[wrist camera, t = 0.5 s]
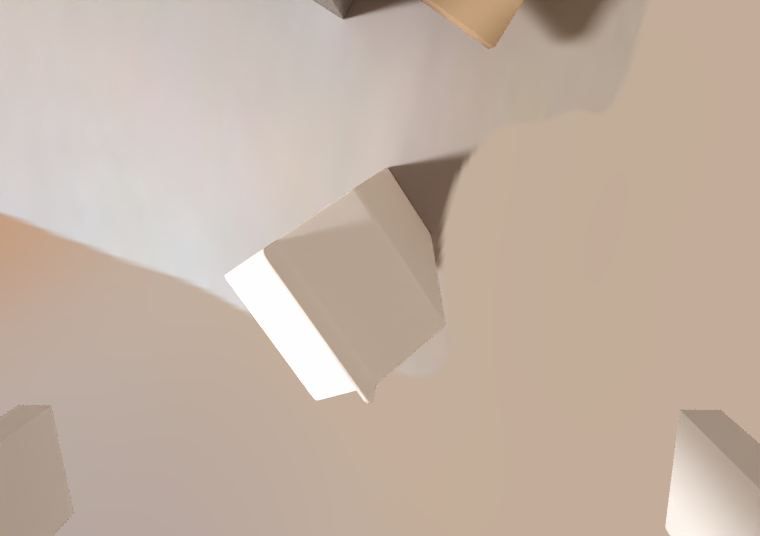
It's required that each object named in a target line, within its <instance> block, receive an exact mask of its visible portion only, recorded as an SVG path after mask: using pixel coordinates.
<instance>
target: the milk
mask: <svg viewBox="0 0 760 536" xmlns="http://www.w3.org/2000/svg"><path fill="white" fill-rule="evenodd" d="M225 278H226V280H227V281H228V282H229V284H230V285H231V286H232V288H233V289H234V291H235V292H236V293H237V295H238V296H239V297H240V299H241V300H242V301H243V303H244V304H245V306H246V307H247V308H248V310H249V311H250V312H251V314H252V315H253V316H254V318H255V319H256V320H257V322H258V323H259V324H260V326H261V327H262V329H263V330H264V331H265V333H266V334H267V335H268V337H269V338H270V340H271V341H272V342H273V343H274V345H275V346H276V348H277V349H278V350H279V352H280V353H281V354H282V356H283V357H284V359H285V360H286V361H287V363H288V364H289V365H290V367H291V368H292V369H293V371H294V372H295V373H296V375H297V376H298V378H299V379H300V380H301V382H302V383H303V384H304V386H305V387H306V388H307V390H308V391H309V393H310V394H311V395H312V396H313V398H314V399H315V400H321V399H324V398H329V397H333V396H336V395H340V394H344V393H348V392H352V391H356V390H357V392H358V393H359V395H360V396H361V397H362V399H363V400H364V401H365V402H366V403H368V404H370V403H372V402H373V399H374V393H375V388H376V385H377V384H378V383H379V382H380V381H381V380H382V379H383V378H384V377H386V376H387V375H388V374H389V373H390V372H392V371H393V370H394V369H395V368H396V367H397V366H399V365H400V364H401V363H402V362H403V361H404V360H406V359H407V358H408V357H409V356H410V355H411V354H413V353H414V352H415V351H416V350H417V349H418V348H420V347H421V346H422V345H423V344H424V343H425V342H427V341H428V340H429V339H430V338H431V337H433V336H434V335H435V334H436V333H437V332H438V331H439V330H441V329H442V328H443V327H444V325H445V319H444V313H443V306H442V300H441V294H440V288H439V281H438V275H437V269H436V263H435V256H434V250H433V244H432V238H431V234H430V233H429V231H428V230H427V228H426V227H425V225H424V223H423V222H422V220H421V219H420V217H419V216H418V214H417V213H416V211H415V209H414V208H413V206H412V205H411V203H410V202H409V200H408V199H407V197H406V195H405V194H404V192H403V191H402V189H401V188H400V186H399V184H398V183H397V181H396V180H395V178H394V177H393V175H392V174H391V172H390V170H389V169H388V168H385V169H383V170H382V171H380V172H379V173H377V174H376V175H374V176H372V177H371V178H369V179H368V180H366V181H365V182H363V183H362V184H360V185H358V186H357V187H355V188H354V189H352V190H351V191H349V192H348V193H346V194H345V195H343V196H342V197H340V198H339V199H337V200H336V201H334V202H333V203H331V204H330V205H328V206H327V207H325V208H324V209H322V210H321V211H319V212H318V213H316V214H315V215H313V216H312V217H310V218H309V219H307V220H306V221H304V222H303V223H301V224H300V225H298V226H297V227H295V228H294V229H292V230H291V231H289V232H288V233H286V234H285V235H283V236H282V237H280V238H279V239H277V240H276V241H274V242H273V243H271V244H270V245H268V246H267V247H265V248H264V249H263V250H261V251H260V252H258V253H257V254H255V255H254V256H252V257H251V258H249V259H248V260H246V261H245V262H243V263H242V264H240V265H239V266H237V267H236V268H234V269H233V270H231V271H230V272H229V273H227V274H226V275H225Z"/></svg>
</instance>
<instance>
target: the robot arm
mask: <svg viewBox="0 0 760 536" xmlns="http://www.w3.org/2000/svg"><path fill="white" fill-rule="evenodd" d="M73 514H74V510H73V506H72V501H71V496H70V491H69V487H68V482H67V478H66V473H65V468H64V463H63V458H62V454H61V449H60V444H59V440H58V435H57V430H56V426H55V421H54V416H53V411H52V407H51V406H49V405H48V406H47V405H41V406H40V405H18V406H16V407H15V408H13V409H12V410H10V411H9V412H7V413H6V414H4V415H3V416H1V417H0V536H53V535H54V534H55V533H56V532H57V531H58V530H59V529H60V528H61V527H62V526H63V525H64V523H66V521H67V520H68V519H69V518H70V517H71V516H72V515H73ZM665 528H666V529H667V531H668V533H669V534H670V536H760V444H759V443H758V442H757V441H756V440H755V439H754V438H752V437H751V436H750V435H749V434H748V433H747V432H745V431H744V430H743V429H742V428H741V427H740V426H739V425H737V424H736V423H735V422H734V421H733V420H732V419H730V418H729V417H728V416H727V415H726V414H725V413H724V412H722V411H721V410H680V413H679V421H678V429H677V438H676V446H675V454H674V462H673V470H672V478H671V486H670V494H669V502H668V510H667V519H666V526H665Z"/></svg>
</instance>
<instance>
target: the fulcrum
mask: <svg viewBox="0 0 760 536" xmlns="http://www.w3.org/2000/svg"><path fill="white" fill-rule="evenodd" d="M314 1H315V2H317V3H318V4H320V5H322V6H323V7H325V8H326V9H328V10H329V11H331V12H333V13H334V14H336V15H337V16H339V17H340V18H342V19H344V17H345V15H346V13H347V11H348V9H349V8H350V6H351V4H352V2H353V0H314Z"/></svg>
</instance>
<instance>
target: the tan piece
mask: <svg viewBox="0 0 760 536" xmlns="http://www.w3.org/2000/svg"><path fill="white" fill-rule="evenodd" d="M422 1H423V2H424V3H426V4H427V5H429V6H430V7H431V8H433V9H434V10H435V11H437V12H438V13H440V14H441V15H442V16H444V17H445V18H447V19H448V20H449V21H451V22H452V23H453V24H455V25H456V26H458V27H459V28H460V29H462V30H463V31H464V32H466V33H467V34H469V35H470V36H471V37H473V38H474V39H475V40H477V41H478V42H480V43H481V44H482V45H484V46H485V47H487V48H488V49H489V48H493V47H495V46H496V44H497V42H498V41H499V39H500V38H501V36H502V34H503V33H504V31H505V29H506V28H507V26H508V24H509V23H510V21H511V20H512V18H513V16H514V15H515V13H516V11H517V10H518V8H519V7H520V5H521V3H522V2H523V0H422Z"/></svg>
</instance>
